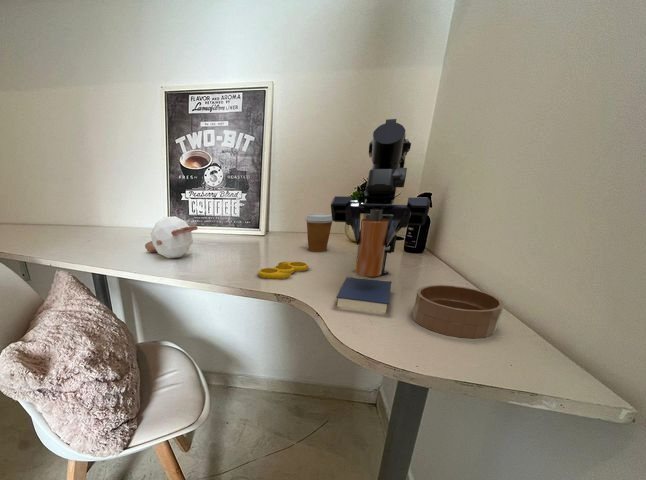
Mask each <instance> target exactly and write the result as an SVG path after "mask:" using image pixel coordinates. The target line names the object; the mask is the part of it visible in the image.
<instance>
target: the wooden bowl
mask: <svg viewBox="0 0 646 480" xmlns="http://www.w3.org/2000/svg"><path fill="white" fill-rule="evenodd" d="M504 307H505V304H504V302H503V300H502V299H500V298H499V297H497V296H496V295H493V294H491V293H489V292H486V291H483V290H479V289H475V288H471V287H466V286H460V285H452V284H432V285H431V284H430V285H425V286H421V287H420V288H418V289H417V290H416V295H415V301H414V306H413V309H412V310H413V311H412V315H411V317H412V319H413V321H414V322H415V323H416V324H417V325H418V324H419V326H421V327H422V328H425V329H427V330H429V331H430V332H431V331H432V332H434V333H437V334H441V335H444V336H450V337H453V338H454V337H455V338H461V339H463V338H464V339H482V338H487V337H491V336H493V335H494V334H495V333H496V331H497V328H498V325H499V322H500V319H501V316H502V313H503V311H504V310H503V309H504Z"/></svg>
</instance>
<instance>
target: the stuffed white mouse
mask: <svg viewBox="0 0 646 480" xmlns="http://www.w3.org/2000/svg"><path fill="white" fill-rule="evenodd" d="M197 230H198V226H197V225H190V226H189V223H188V222H187V221H186V220H183V219H182V218H179V217H178V216H163V217H162V218H160V219H159V220H158V221H157V222H156V223H155V224H154V226H153V228H152V229H151V232H150V236H151V241H148V242H146V243H145V244H144V248H145V249H146V251H147V252H150V253H156V252H157V253H158V254H159V255H161V256H163V257H165V258H166V259H178V258H182V257H183V256H184V255H185V254H186V253H188V252H189V250H190V249H191V247H192V245H193V243H194V240H193V234H192V232H193V231H197Z"/></svg>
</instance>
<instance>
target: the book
mask: <svg viewBox="0 0 646 480" xmlns="http://www.w3.org/2000/svg"><path fill="white" fill-rule="evenodd" d="M391 289H392V281H386V280H376V279H367V278H357V277H349V276H347V277H345V280H344V281H343V283H342V285H341V287H340V289H339V291H338V293H337V295H336V299H337V303H336V304H337V305H336V308H343V309H350V310H358V311H365V312H374V313H380V314H386V313H387V309H388V305H390V299H391V298H390V297H391Z"/></svg>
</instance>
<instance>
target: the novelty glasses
mask: <svg viewBox="0 0 646 480" xmlns="http://www.w3.org/2000/svg"><path fill="white" fill-rule="evenodd" d="M308 269H309V264H308V263H306V262H304V261H281V262H279V263H277V265H275V266H274V267H264V268H261V269H259V270H258V276H259V277H260V278H263V279H271V280H282V279H288V278H290V277H291V275H293V274H294V273H295V272H305V271H307V270H308Z"/></svg>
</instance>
